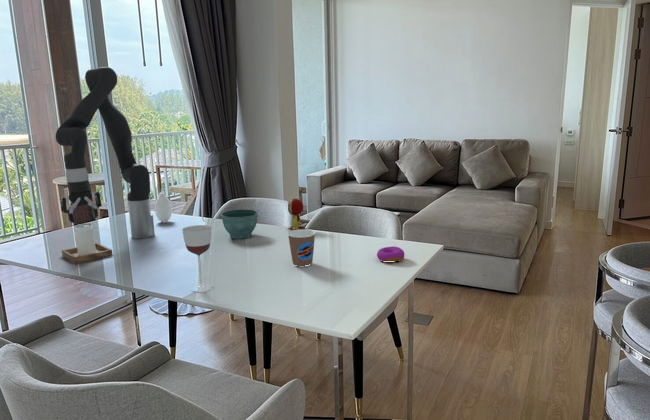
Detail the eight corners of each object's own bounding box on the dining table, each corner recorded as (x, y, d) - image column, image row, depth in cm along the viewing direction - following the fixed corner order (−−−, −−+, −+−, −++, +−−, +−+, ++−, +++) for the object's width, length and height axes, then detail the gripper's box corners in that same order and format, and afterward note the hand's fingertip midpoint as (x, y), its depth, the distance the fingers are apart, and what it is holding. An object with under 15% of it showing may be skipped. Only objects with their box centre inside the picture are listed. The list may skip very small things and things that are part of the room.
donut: (378, 255, 186) (378, 244, 185) (405, 256, 184) (405, 245, 183) (375, 263, 176) (375, 252, 175) (403, 265, 174) (403, 253, 173)
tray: (98, 248, 202) (97, 242, 202) (112, 255, 192) (111, 249, 191) (62, 256, 193) (61, 250, 192) (75, 264, 182) (74, 257, 182)
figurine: (288, 227, 231) (287, 197, 228) (308, 227, 229) (307, 197, 226) (284, 232, 222) (283, 200, 219) (305, 232, 221) (304, 200, 218)
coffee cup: (295, 270, 170) (294, 238, 168) (284, 262, 179) (282, 231, 176) (321, 265, 175) (320, 234, 172) (309, 258, 184) (308, 227, 181)
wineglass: (190, 284, 159) (185, 225, 155) (216, 283, 160) (212, 224, 156) (185, 293, 151) (180, 232, 147) (213, 292, 152) (208, 230, 148)
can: (89, 256, 189) (85, 227, 186) (74, 256, 190) (70, 227, 187) (99, 252, 195) (96, 223, 192) (85, 251, 196) (81, 223, 194)
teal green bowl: (266, 234, 219) (265, 211, 217) (242, 243, 206) (240, 218, 204) (239, 230, 228) (238, 207, 226) (215, 238, 215) (213, 214, 212)
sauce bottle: (153, 223, 244) (150, 189, 240) (161, 220, 251) (158, 186, 247) (168, 224, 242) (164, 189, 239) (175, 220, 250) (172, 186, 246)
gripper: (92, 176, 193) (98, 215, 197) (54, 181, 183) (61, 222, 187) (100, 177, 188) (106, 218, 192) (61, 183, 178) (68, 225, 182)
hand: (83, 220), depth 189 cm, fingers open, 8 cm apart
